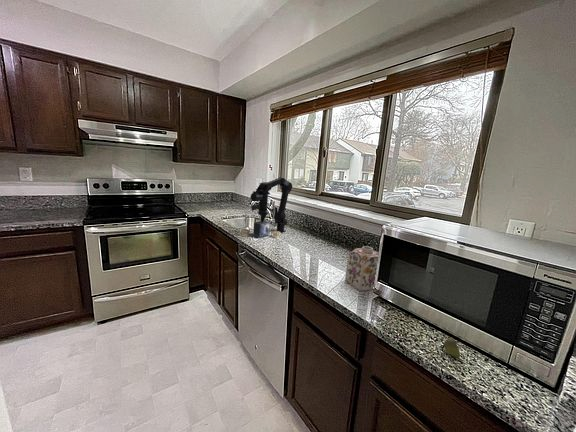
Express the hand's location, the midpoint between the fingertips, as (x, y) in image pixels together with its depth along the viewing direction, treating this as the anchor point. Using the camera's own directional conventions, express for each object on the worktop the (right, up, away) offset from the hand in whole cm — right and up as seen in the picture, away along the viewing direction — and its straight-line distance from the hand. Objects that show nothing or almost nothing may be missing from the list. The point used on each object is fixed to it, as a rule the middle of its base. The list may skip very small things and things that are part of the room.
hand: (262, 222), depth 176 cm
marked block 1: (-12, -10, +1) cm, 15 cm away
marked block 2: (+10, -11, +3) cm, 15 cm away
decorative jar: (+53, -27, -62) cm, 86 cm away
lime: (+67, -37, -103) cm, 128 cm away
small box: (-1, -10, +2) cm, 11 cm away
